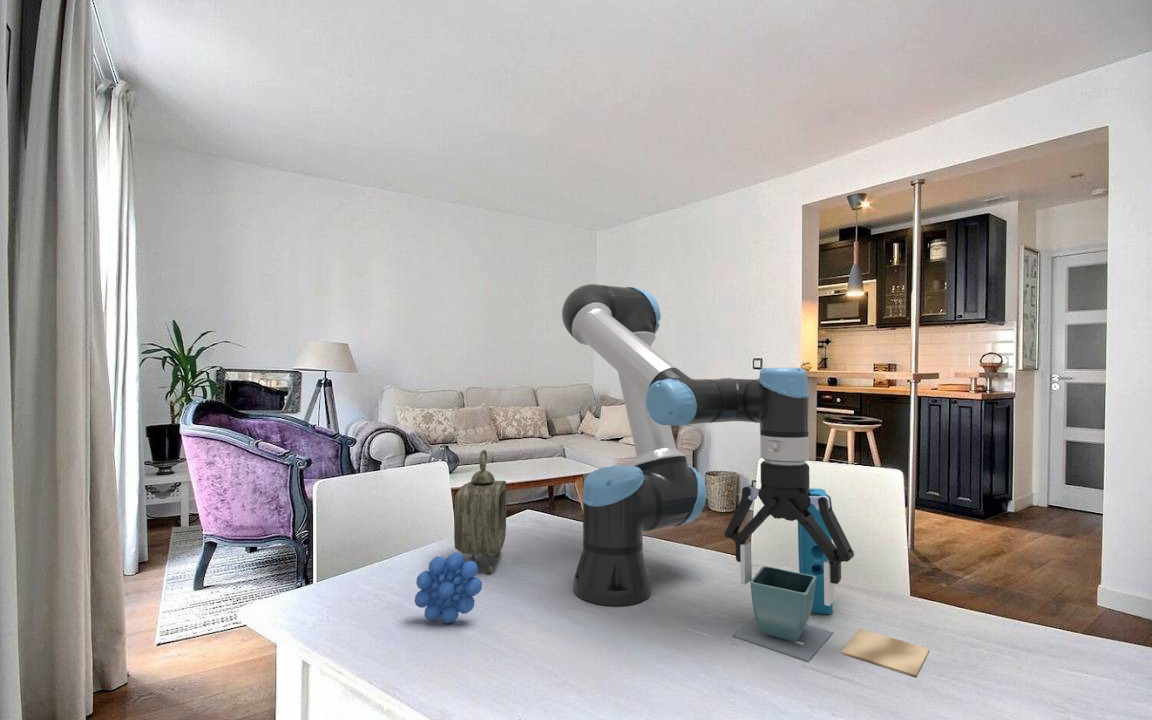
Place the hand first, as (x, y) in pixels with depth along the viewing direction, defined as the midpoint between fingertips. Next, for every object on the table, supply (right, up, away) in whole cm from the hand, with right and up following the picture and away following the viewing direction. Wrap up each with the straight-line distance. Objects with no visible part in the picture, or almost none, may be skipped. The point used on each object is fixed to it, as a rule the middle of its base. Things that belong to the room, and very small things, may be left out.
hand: (786, 592), depth 93 cm
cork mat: (+14, -7, -5) cm, 16 cm away
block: (+10, -7, +12) cm, 18 cm away
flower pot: (0, -7, 0) cm, 7 cm away
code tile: (0, -7, 0) cm, 7 cm away
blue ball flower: (-56, -7, +5) cm, 57 cm away
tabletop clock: (-55, -7, +32) cm, 64 cm away
